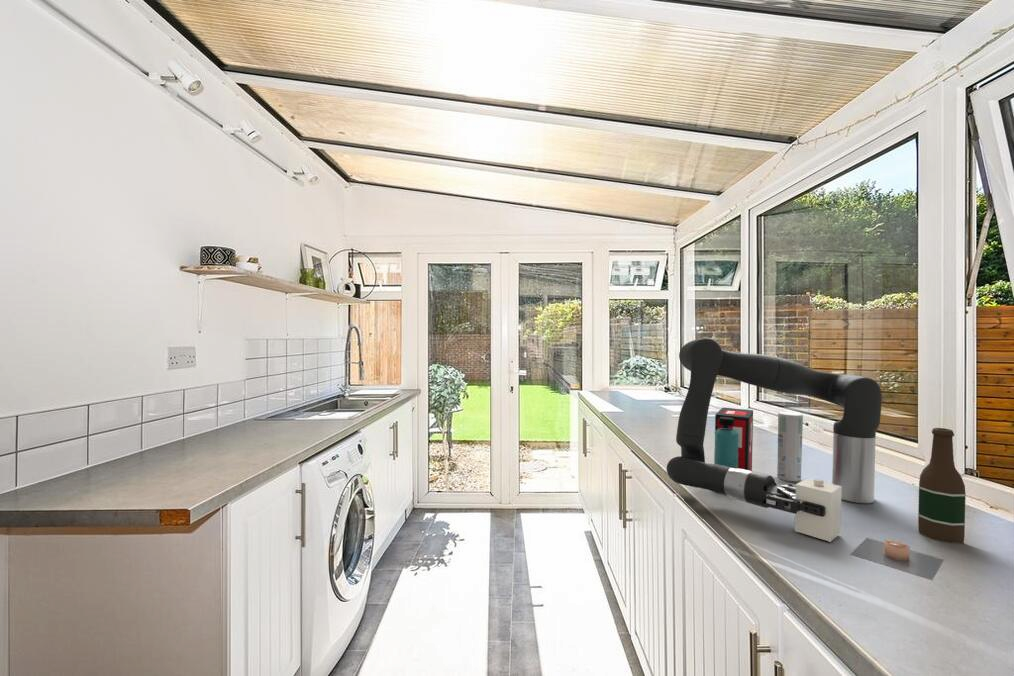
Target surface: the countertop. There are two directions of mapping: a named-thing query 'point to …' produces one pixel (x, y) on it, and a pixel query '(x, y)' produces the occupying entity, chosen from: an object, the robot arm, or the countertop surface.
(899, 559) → the ramekin
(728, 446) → the beverage bottle
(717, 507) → the countertop surface
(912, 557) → the slate coaster
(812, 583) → the countertop surface
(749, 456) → the cleaning product box
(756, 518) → the countertop surface
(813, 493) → the knobbed cream block
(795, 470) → the spray can
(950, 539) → the beer bottle
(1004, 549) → the countertop surface
